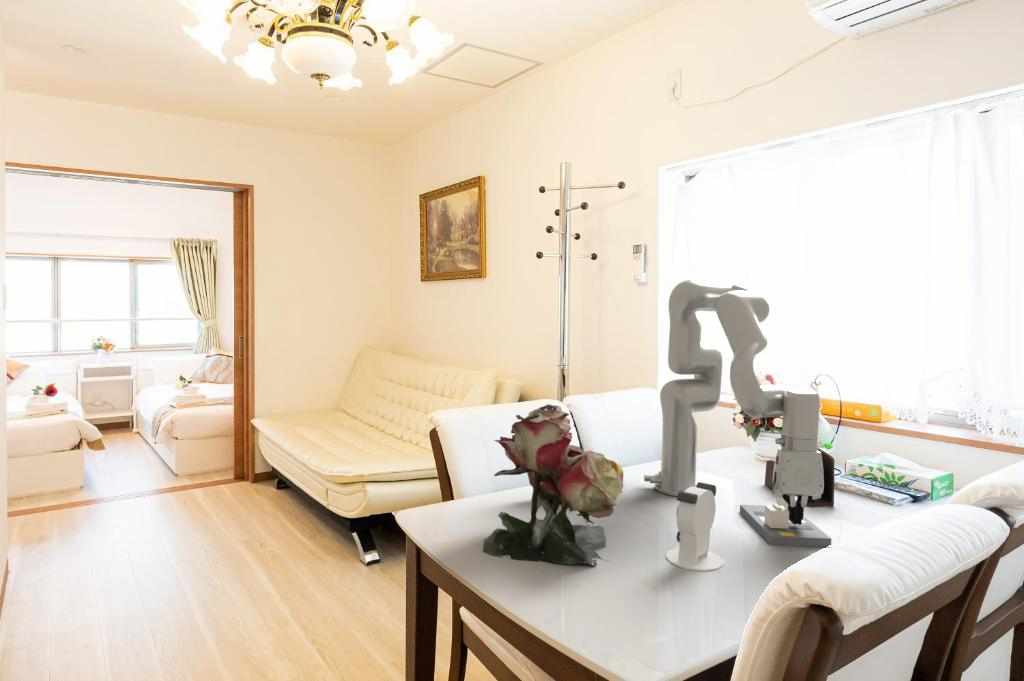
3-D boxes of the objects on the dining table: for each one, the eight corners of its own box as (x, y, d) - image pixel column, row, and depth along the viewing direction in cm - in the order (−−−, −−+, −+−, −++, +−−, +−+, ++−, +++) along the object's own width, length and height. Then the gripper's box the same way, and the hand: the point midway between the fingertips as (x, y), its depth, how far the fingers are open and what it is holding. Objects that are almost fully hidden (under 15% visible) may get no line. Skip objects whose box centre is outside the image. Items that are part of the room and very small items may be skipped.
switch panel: (771, 545, 141) (771, 535, 141) (739, 512, 163) (740, 504, 163) (830, 547, 141) (831, 538, 140) (791, 514, 163) (791, 506, 162)
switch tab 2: (782, 515, 154) (783, 497, 154) (776, 510, 158) (777, 492, 158) (799, 516, 154) (800, 497, 154) (793, 510, 158) (794, 492, 158)
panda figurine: (681, 544, 141) (684, 477, 140) (732, 558, 133) (735, 487, 132) (656, 560, 131) (659, 488, 130) (709, 576, 124) (713, 500, 123)
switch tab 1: (770, 528, 145) (771, 508, 145) (764, 521, 149) (765, 502, 149) (788, 528, 145) (789, 508, 145) (781, 522, 149) (782, 503, 149)
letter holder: (796, 485, 189) (799, 438, 188) (834, 507, 170) (837, 455, 169) (763, 485, 189) (766, 438, 188) (797, 507, 169) (800, 454, 168)
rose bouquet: (619, 571, 125) (625, 420, 124) (475, 557, 131) (478, 412, 129) (622, 527, 151) (627, 401, 149) (501, 516, 156) (504, 394, 154)
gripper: (772, 446, 142) (768, 527, 144) (840, 448, 142) (835, 529, 143) (760, 439, 150) (756, 515, 151) (824, 441, 149) (820, 518, 151)
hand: (795, 522), depth 147 cm, fingers closed
